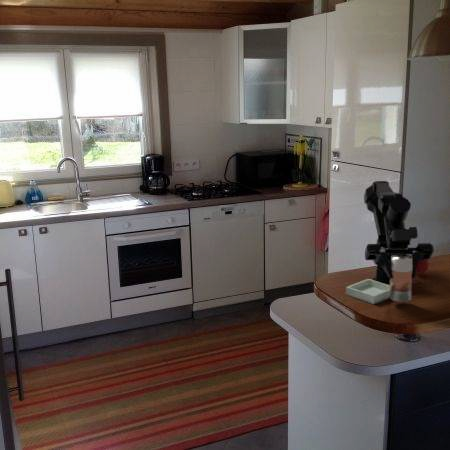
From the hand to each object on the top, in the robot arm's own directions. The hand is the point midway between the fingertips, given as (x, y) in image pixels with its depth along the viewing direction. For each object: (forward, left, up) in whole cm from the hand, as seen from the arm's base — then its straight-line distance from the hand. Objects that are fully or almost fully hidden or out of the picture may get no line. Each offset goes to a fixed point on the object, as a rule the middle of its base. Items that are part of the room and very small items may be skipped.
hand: (402, 278), depth 155 cm
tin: (-1, -1, -7) cm, 7 cm away
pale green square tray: (-1, -11, -9) cm, 14 cm away
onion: (-26, -12, -9) cm, 30 cm away
